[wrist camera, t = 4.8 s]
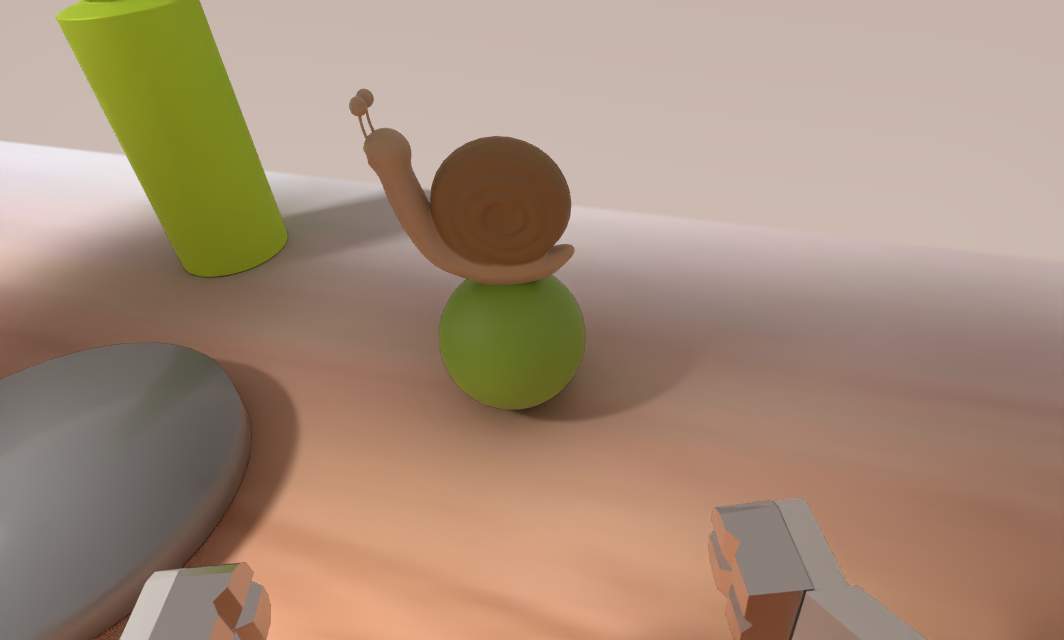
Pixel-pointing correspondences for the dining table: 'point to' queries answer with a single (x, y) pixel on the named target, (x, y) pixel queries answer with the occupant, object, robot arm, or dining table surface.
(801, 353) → the dining table surface
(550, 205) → the snail figurine
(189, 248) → the soap dispenser
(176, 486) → the slate coaster
